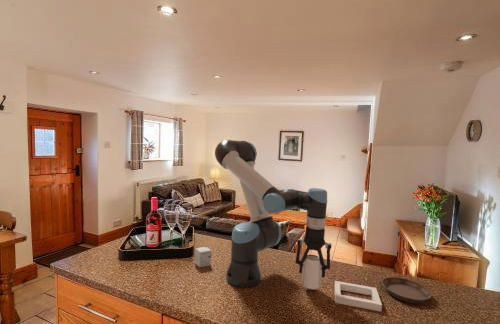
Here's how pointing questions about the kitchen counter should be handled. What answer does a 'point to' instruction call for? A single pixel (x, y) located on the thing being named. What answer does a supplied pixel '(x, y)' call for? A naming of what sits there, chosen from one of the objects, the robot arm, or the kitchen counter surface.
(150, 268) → the kitchen counter surface
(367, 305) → the socket collar
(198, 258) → the skincare box
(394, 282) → the plant saucer
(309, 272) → the can
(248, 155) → the robot arm
